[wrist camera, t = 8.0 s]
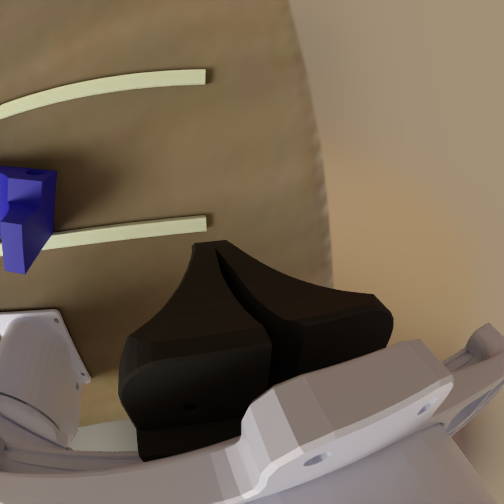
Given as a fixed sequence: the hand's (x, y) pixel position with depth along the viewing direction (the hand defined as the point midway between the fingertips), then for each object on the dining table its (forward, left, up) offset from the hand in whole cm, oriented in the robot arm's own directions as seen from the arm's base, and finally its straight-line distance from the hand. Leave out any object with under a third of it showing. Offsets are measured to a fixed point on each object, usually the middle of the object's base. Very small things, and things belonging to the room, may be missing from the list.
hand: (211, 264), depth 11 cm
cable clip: (+2, +16, -10) cm, 19 cm away
